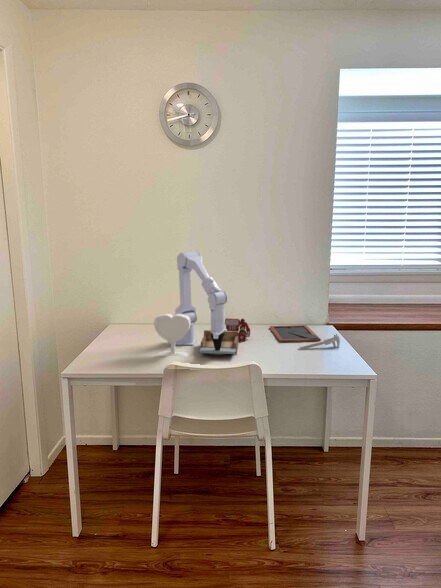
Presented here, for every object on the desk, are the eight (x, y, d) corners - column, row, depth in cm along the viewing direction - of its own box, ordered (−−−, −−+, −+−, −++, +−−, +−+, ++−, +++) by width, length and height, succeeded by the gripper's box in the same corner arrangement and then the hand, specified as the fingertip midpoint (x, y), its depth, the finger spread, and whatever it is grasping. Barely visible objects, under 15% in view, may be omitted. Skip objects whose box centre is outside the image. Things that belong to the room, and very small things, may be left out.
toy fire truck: (249, 341, 200) (249, 320, 198) (224, 340, 202) (224, 320, 200) (250, 337, 207) (250, 317, 205) (225, 336, 208) (225, 316, 206)
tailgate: (201, 350, 184) (199, 354, 178) (201, 347, 184) (199, 350, 178) (235, 351, 182) (234, 355, 176) (235, 348, 182) (234, 351, 176)
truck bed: (200, 353, 184) (200, 338, 183) (204, 344, 196) (204, 330, 195) (236, 354, 183) (236, 339, 181) (238, 345, 194) (238, 331, 193)
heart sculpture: (154, 355, 182) (153, 315, 178) (157, 351, 187) (156, 312, 183) (189, 356, 180) (188, 316, 177) (191, 352, 185) (190, 313, 181)
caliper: (338, 346, 193) (339, 333, 192) (339, 347, 192) (340, 334, 191) (297, 349, 189) (297, 336, 188) (298, 350, 188) (298, 337, 187)
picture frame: (320, 342, 200) (305, 328, 224) (320, 338, 199) (306, 324, 224) (279, 344, 198) (269, 329, 223) (279, 340, 198) (269, 325, 222)
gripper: (225, 324, 169) (225, 355, 171) (228, 315, 183) (228, 344, 186) (208, 323, 169) (208, 355, 172) (212, 314, 184) (212, 344, 186)
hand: (217, 349), depth 179 cm, fingers closed
